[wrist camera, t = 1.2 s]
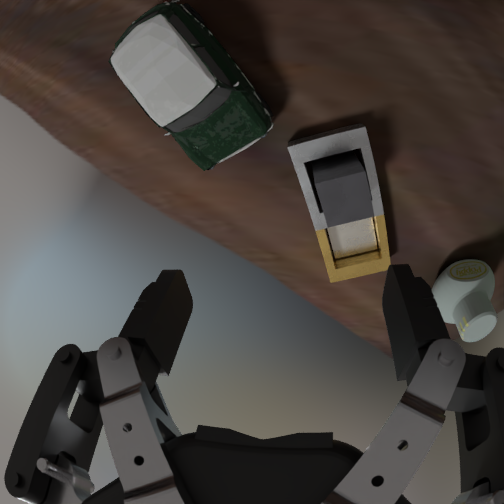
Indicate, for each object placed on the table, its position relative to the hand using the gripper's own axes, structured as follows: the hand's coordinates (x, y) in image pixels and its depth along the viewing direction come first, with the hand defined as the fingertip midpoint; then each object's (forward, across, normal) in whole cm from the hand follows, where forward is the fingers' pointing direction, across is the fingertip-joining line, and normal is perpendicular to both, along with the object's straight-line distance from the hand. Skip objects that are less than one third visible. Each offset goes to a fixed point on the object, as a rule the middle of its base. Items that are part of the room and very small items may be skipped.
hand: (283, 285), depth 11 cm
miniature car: (+22, +9, -8) cm, 25 cm away
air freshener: (+22, -24, +20) cm, 38 cm away
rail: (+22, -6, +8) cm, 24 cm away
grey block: (+22, -5, +4) cm, 23 cm away
